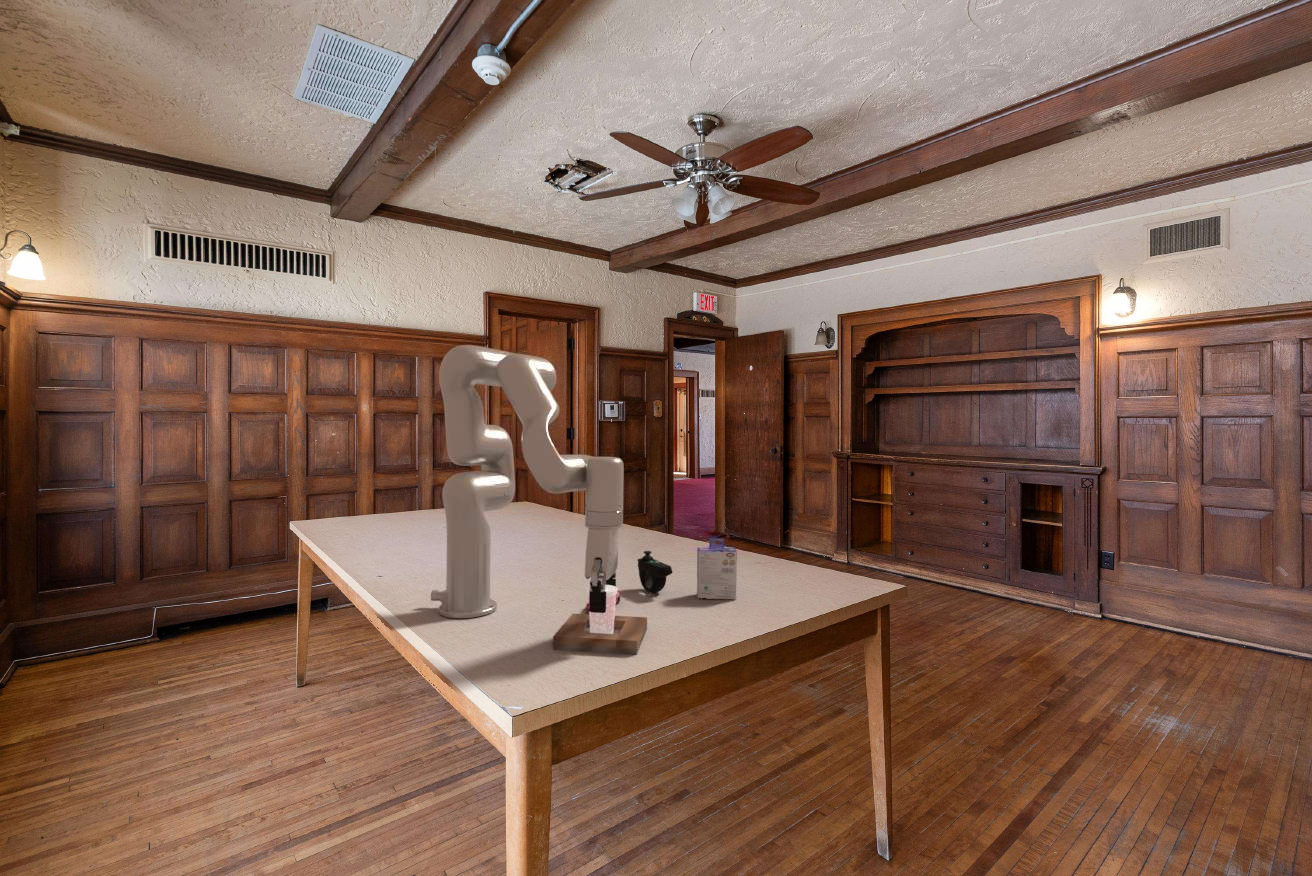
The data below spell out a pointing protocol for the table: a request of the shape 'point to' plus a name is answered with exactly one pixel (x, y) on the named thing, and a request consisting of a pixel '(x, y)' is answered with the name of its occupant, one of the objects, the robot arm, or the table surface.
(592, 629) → the beverage cup
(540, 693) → the table surface
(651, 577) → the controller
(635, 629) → the brown wooden square frame
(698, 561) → the ink cartridge box
